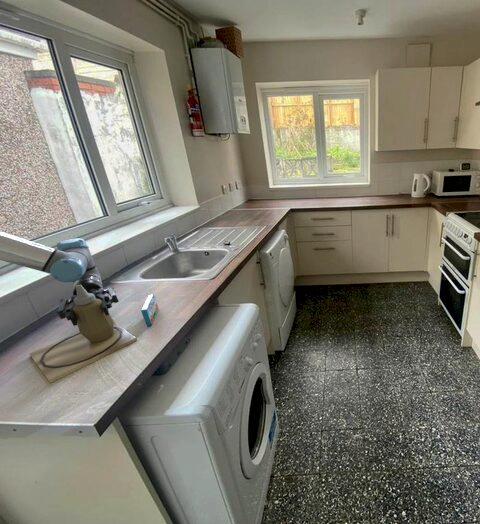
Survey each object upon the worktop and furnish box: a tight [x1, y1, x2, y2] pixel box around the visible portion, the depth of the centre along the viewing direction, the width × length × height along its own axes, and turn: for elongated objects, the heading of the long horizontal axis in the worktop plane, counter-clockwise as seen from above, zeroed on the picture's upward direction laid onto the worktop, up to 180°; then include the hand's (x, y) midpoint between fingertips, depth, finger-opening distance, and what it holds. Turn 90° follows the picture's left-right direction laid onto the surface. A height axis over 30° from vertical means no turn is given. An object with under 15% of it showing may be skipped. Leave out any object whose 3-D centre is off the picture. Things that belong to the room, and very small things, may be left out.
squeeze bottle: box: [73, 285, 115, 342], centre depth 86 cm, size 8×8×18 cm
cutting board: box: [29, 321, 138, 384], centre depth 86 cm, size 20×20×1 cm
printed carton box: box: [140, 293, 160, 327], centre depth 99 cm, size 12×2×6 cm, turn 23°
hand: (90, 316), depth 82 cm, fingers closed on squeeze bottle, 6 cm apart
